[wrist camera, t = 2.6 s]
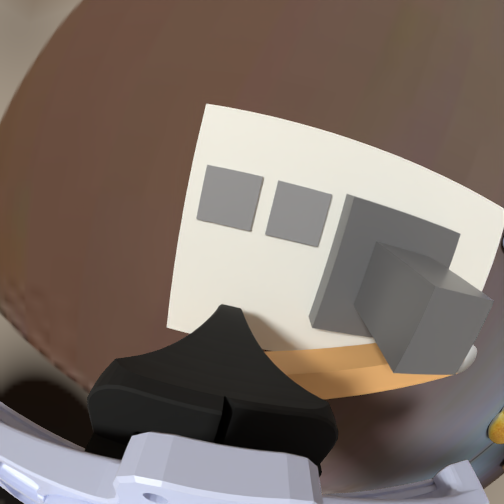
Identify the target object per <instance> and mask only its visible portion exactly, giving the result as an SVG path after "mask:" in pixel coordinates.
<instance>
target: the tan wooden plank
mask: <svg viewBox="0 0 504 504" xmlns="http://www.w3.org/2000/svg"><path fill="white" fill-rule="evenodd" d="M265 354H266V355H267V356H268V357H269V358H270V360H271V361H272V362H273V363H274V364H275V365H276V366H277V367H278V368H279V369H280V370H281V371H282V372H283V373H285V374H286V375H287V376H288V377H289V378H290V379H292V380H293V381H294V382H295V383H297V384H298V385H300V386H301V387H303V388H304V389H305V390H307V391H309V392H310V393H312V394H314V395H316V396H317V397H319V398H321V399H332V398H341V397H349V396H356V395H363V394H369V393H375V392H381V391H386V390H392V389H397V388H402V387H407V386H411V385H416V384H420V383H424V382H428V381H432V380H436V379H440V378H444V377H447V376H451V375H425V374H401V373H393V371H392V370H391V368H390V366H389V364H388V363H387V361H386V359H385V357H384V356H383V354H382V352H381V350H380V349H379V347H378V345H377V343H371V344H363V345H354V346H344V347H334V348H322V349H308V350H291V351H266V352H265ZM476 355H477V349H476V347H475V346H474V345H472V347H471V349H470V351H469V353H468V354H467V356H466V358H465V360H464V361H463V363H462V365H461V366H460V368H459V370H458V371H457V373H456V374H458V373H461V372H463V371H465V370H466V369H467V368H468V367H469V366H470V365H471V364H472V363H473V361H474V360H475V358H476Z"/></svg>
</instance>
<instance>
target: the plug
mask: <svg viewBox="0 0 504 504" xmlns="http://www.w3.org/2000/svg"><path fill="white" fill-rule="evenodd" d="M459 238H460V233H458V232H455V231H453V230H451V229H448V228H446V227H443V226H441V225H438V224H435V223H433V222H430V221H427V220H425V219H422V218H419V217H416V216H414V215H411V214H408V213H405V212H402V211H399V210H396V209H393V208H391V207H388V206H385V205H381V204H378V203H375V202H372V201H369V200H366V199H363V198H359V197H356V196H353V195H350V194H346V198H345V202H344V205H343V209H342V212H341V216H340V220H339V223H338V226H337V230H336V233H335V237H334V240H333V243H332V247H331V250H330V253H329V256H328V260H327V263H326V266H325V269H324V272H323V275H322V278H321V281H320V284H319V287H318V290H317V293H316V296H315V299H314V302H313V305H312V308H311V311H310V313H309V316H308V317H309V320H310V323H311V327H312V328H315V329H321V330H327V331H333V332H339V333H345V334H352V335H359V336H365V337H373V338H374V340H375V342H376V343H377V345H378V347H379V349H380V350H381V352H382V354H383V356H384V357H385V359H386V361H387V363H388V364H389V366H390V368H391V370H392V371H393V373H401V374H425V375H456V373H457V371H458V370H459V368H460V366H461V365H462V363H463V361H464V360H465V358H466V356H467V354H468V353H469V351H470V349H471V347H472V345H473V344H474V342H475V340H476V338H477V336H478V334H479V332H480V330H481V328H482V326H483V324H484V322H485V320H486V318H487V316H488V313H489V311H490V309H491V307H492V305H493V302H494V301H493V300H492V299H491V298H489V297H488V296H486V295H485V294H484V293H482V292H481V291H480V290H478V289H477V288H475V287H474V286H473V285H471V284H470V283H468V282H467V281H465V280H464V279H462V278H461V277H460V276H458V275H457V274H455V273H454V272H452V271H451V270H449V267H450V264H451V261H452V259H453V256H454V253H455V250H456V247H457V244H458V241H459Z"/></svg>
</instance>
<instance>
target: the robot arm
mask: <svg viewBox="0 0 504 504" xmlns="http://www.w3.org/2000/svg"><path fill="white" fill-rule="evenodd" d="M503 247H504V239H503ZM87 403H88V404H87V406H88V411H89V415H90V419H91V424H92V428H93V432H94V433H93V435H92V437H91V439H90V441H89V443H88V445H87V447H86V449H84V448H82V447H80V446H78V445H76V444H73V443H71V442H69V441H67V440H65V439H63V438H61V437H59V436H57V435H55V434H53V433H51V432H49V431H47V430H46V429H44V428H42V427H40V426H38V425H37V424H35V423H33V422H31V421H30V420H28V419H26V418H25V417H23V416H22V415H20V414H18V413H17V412H15V411H14V410H12V409H11V408H9V407H8V406H6V405H4V404H3V403H2V402H0V486H1V487H2V488H4V489H5V490H6V491H8V492H9V493H10V494H12V495H13V496H14V497H16V498H17V499H19V500H20V501H22V502H23V503H24V504H489V500H488V498H487V496H486V494H485V492H484V490H483V488H482V486H481V484H480V482H479V480H478V478H477V476H476V474H475V472H474V470H473V468H472V466H471V464H470V463H469V461H468V460H464V461H460V462H457V463H454V464H450V465H448V466H446V467H444V468H443V469H442V470H440V471H439V472H438V473H437V474H436V475H435V476H434V478H432V479H428V480H424V481H420V482H415V483H411V484H406V485H401V486H395V487H389V488H383V489H376V490H369V491H360V492H350V493H336V494H322V492H321V485H320V479H319V477H320V476H321V473H322V471H321V465H320V463H321V462H322V461H323V459H324V458H325V457H326V456H327V454H328V453H329V452H330V450H331V449H332V448H333V446H334V445H335V443H336V441H337V439H338V429H337V425H336V421H335V418H334V415H333V412H332V410H331V408H330V405H329V403H328V402H327V401H325V400H323V399H321V398H319V397H317V396H316V395H314V394H312V393H310V392H309V391H307V390H305V389H304V388H303V387H301V386H300V385H298V384H297V383H295V382H294V381H293V380H292V379H290V378H289V377H288V376H287V375H286V374H285V373H283V372H282V371H281V370H280V369H279V368H278V367H277V366H276V365H275V364H274V363H273V362H272V361H271V360H270V358H269V357H268V356H267V355H266V354H265V352H264V351H263V350H262V348H261V347H260V345H259V344H258V342H257V341H256V339H255V337H254V335H253V334H252V332H251V330H250V328H249V326H248V324H247V321H246V319H245V317H244V314H243V311H242V309H241V308H238V307H233V306H229V305H224V304H221V305H219V306H218V308H217V310H216V311H215V312H214V313H213V314H212V315H211V317H210V318H208V319H207V320H206V321H205V322H204V323H203V324H202V325H201V326H200V327H198V328H197V329H196V330H195V331H193V332H192V333H191V334H189V335H188V336H186V337H185V338H183V339H181V340H180V341H178V342H176V343H174V344H172V345H170V346H167V347H165V348H163V349H160V350H157V351H154V352H150V353H147V354H143V355H138V356H132V357H126V358H118V359H115V360H114V361H113V362H112V363H111V364H110V365H109V366H108V367H107V368H106V370H105V371H104V372H103V373H102V374H101V375H100V377H99V378H98V380H97V382H96V383H95V385H94V386H93V388H92V390H91V391H90V393H89V395H88V397H87Z"/></svg>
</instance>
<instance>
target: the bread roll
mask: <svg viewBox="0 0 504 504" xmlns="http://www.w3.org/2000/svg"><path fill="white" fill-rule="evenodd" d="M488 434H489V438H490V440H491V441H493V442H494V443H496V444H504V407H503V409H502V411H501V412H499V413H498V414H497V415H496V416H495V418H494V419H493V420H492V422H491V423H490V425H489V429H488Z"/></svg>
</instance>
